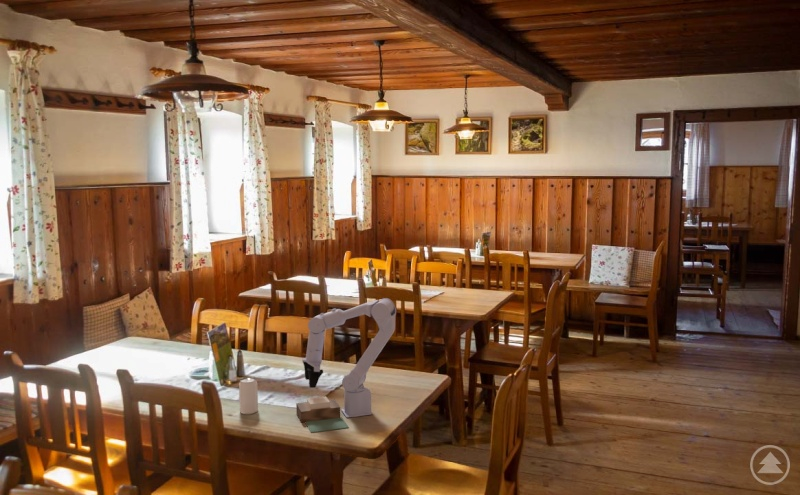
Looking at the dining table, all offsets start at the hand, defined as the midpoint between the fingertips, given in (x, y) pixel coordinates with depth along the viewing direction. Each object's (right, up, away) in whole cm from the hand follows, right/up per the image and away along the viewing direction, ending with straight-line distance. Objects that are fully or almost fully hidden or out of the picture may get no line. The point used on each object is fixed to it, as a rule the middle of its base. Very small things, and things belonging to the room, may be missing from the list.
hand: (310, 383), depth 245 cm
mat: (+8, -12, -14) cm, 20 cm away
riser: (+4, -11, -6) cm, 12 cm away
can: (-22, -10, -1) cm, 24 cm away
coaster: (+4, -7, -7) cm, 10 cm away
